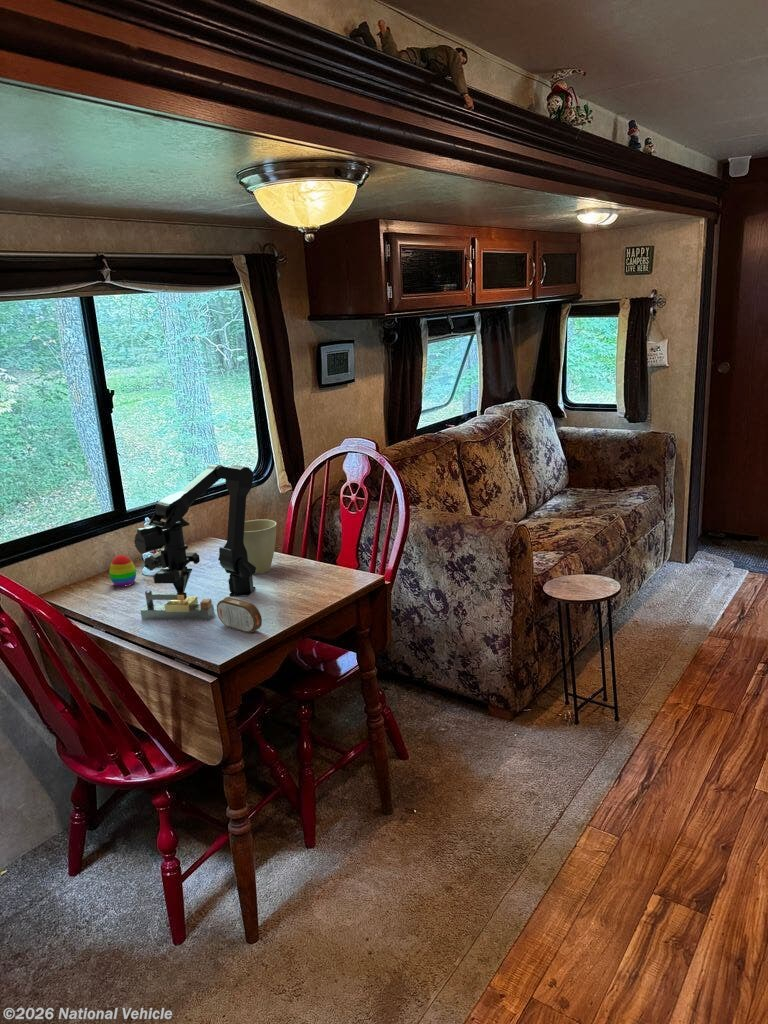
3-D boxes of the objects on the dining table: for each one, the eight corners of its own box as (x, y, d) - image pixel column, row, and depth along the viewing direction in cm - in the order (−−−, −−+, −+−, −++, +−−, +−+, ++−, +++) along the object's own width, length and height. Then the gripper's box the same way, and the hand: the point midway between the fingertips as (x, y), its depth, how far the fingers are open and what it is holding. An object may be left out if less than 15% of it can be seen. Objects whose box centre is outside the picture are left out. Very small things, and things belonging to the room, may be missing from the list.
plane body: (214, 613, 203) (212, 597, 202) (208, 620, 199) (206, 603, 198) (148, 613, 206) (146, 597, 205) (141, 620, 202) (139, 603, 200)
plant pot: (286, 563, 244) (281, 518, 240) (273, 578, 230) (268, 531, 226) (244, 563, 246) (240, 519, 242) (229, 578, 232) (224, 531, 228)
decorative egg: (107, 589, 228) (103, 559, 226) (116, 580, 236) (111, 552, 233) (133, 587, 228) (128, 558, 226) (140, 578, 236) (136, 550, 234)
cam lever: (187, 605, 202) (185, 590, 201) (185, 608, 200) (183, 592, 199) (148, 605, 204) (146, 590, 202) (146, 607, 202) (143, 592, 201)
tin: (264, 632, 189) (261, 603, 187) (255, 637, 186) (252, 607, 184) (225, 621, 197) (221, 593, 195) (216, 625, 195) (213, 597, 193)
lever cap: (198, 602, 204) (197, 596, 204) (189, 611, 198) (188, 605, 197) (175, 602, 205) (174, 596, 204) (165, 611, 199) (164, 605, 198)
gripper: (161, 534, 208) (168, 583, 212) (131, 554, 190) (139, 608, 194) (197, 534, 207) (203, 583, 211) (170, 554, 189) (178, 608, 193)
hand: (181, 595), depth 202 cm, fingers closed
